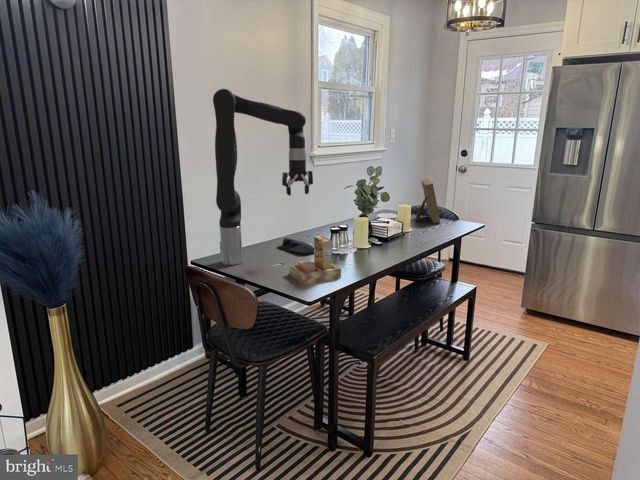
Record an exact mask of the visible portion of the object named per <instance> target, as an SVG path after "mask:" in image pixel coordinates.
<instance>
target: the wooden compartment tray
mask: <svg viewBox="0 0 640 480" xmlns="http://www.w3.org/2000/svg"><path fill="white" fill-rule="evenodd" d="M309 262H311V263H312V264H314V260H311V261H309ZM288 266H289V267H288V270H289V275H290V276H291V277H292V278H294V279H295V280H296V281H298V282H299V283H301V284H302V285H303V286H306V285H311V284H316V283H321V282H328V281H333V280H337V279H341V278H342V268H341V267H339V266H338V265H336V264H334V263H332V269H327V270H321V269H320V268H318V267H317V266H315V272H310V273H304V272H303V271H301V270H300V269H299V268H298V263H293V264H289V265H288Z"/></svg>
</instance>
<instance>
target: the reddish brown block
mask: <svg viewBox="0 0 640 480" xmlns="http://www.w3.org/2000/svg"><path fill="white" fill-rule="evenodd" d="M297 264H298V268H299V269H300V270H301V271H303V272H304V273H310V272H315V265H314V264H312V263H311V262H310V261H309V260H307V259H305V260H298V261H297Z"/></svg>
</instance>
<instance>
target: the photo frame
mask: <svg viewBox="0 0 640 480" xmlns="http://www.w3.org/2000/svg"><path fill="white" fill-rule="evenodd" d="M421 185H422V189H423V195H424V200H423V201H422V203H421V204H420V207H419V209H418V211H417V212H416V215H415V220H414V222H415V221H416V222H419V221H420V218H421V215H422V213H423V211H424V208H425V204H426V210H427V214H428V218H429V219H430V221H431V222H433V223H432V224H433V225H434V224H439V223H441V219H440V213H439V207H438V204H437V203H438V202H437V198H436V197H437V196H436V194H435V187H434V183H433V182H432V181H431V179H429V178H425V179H421ZM418 220H419V221H418Z"/></svg>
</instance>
